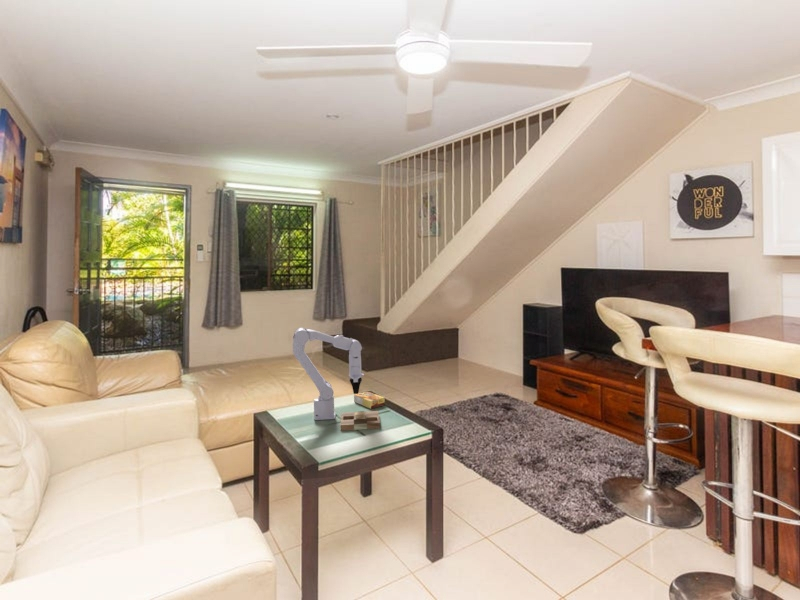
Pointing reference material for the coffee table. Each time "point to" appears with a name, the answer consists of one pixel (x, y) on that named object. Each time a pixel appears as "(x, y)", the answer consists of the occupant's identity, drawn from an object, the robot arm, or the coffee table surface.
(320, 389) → the robot arm
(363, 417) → the block
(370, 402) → the candy box
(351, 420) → the board
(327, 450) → the coffee table surface
